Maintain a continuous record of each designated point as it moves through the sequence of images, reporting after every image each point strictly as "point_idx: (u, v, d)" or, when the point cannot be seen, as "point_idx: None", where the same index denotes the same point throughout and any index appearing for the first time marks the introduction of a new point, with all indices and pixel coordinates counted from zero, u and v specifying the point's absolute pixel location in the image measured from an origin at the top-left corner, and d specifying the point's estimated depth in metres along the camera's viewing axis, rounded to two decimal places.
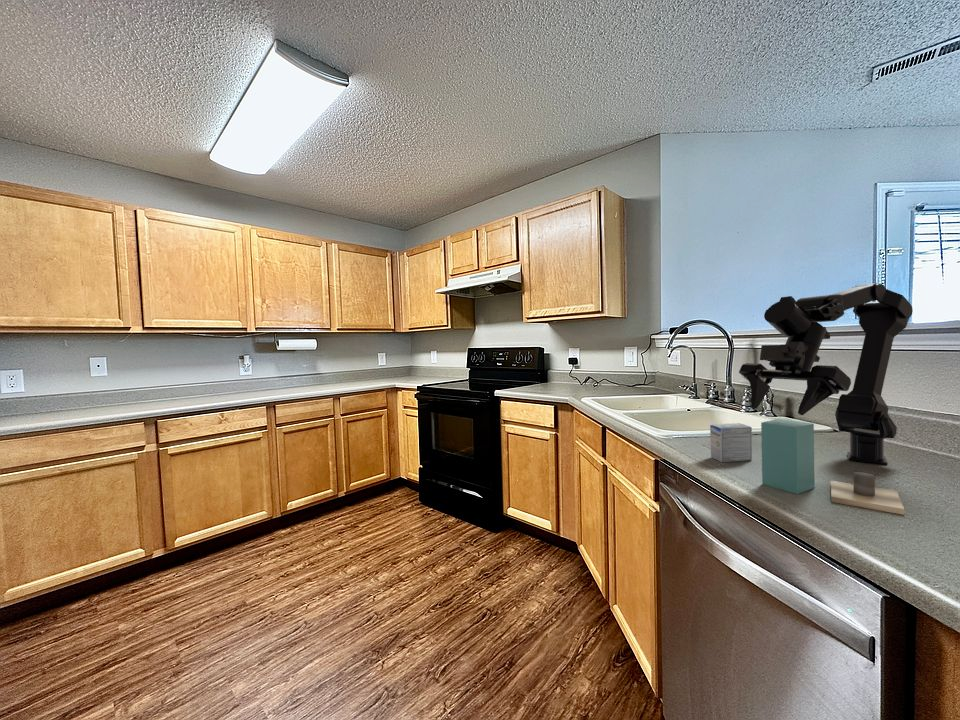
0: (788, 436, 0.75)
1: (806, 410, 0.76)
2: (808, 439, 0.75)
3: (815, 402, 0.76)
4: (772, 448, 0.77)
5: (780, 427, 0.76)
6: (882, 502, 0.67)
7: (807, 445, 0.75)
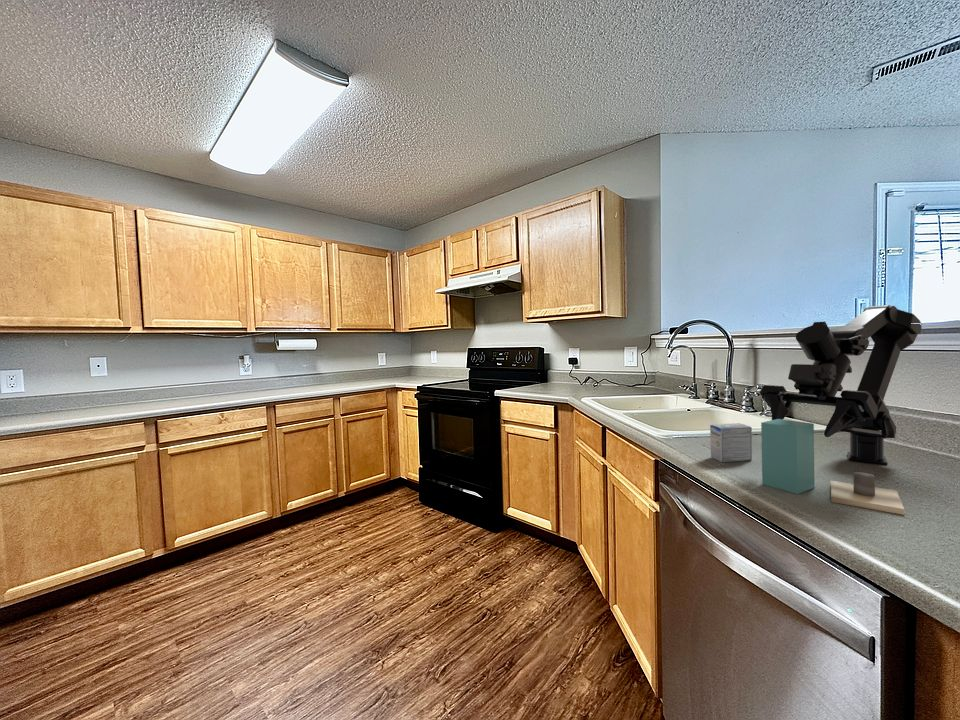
0: (788, 436, 0.75)
1: (832, 433, 0.75)
2: (808, 439, 0.75)
3: (841, 426, 0.75)
4: (772, 448, 0.77)
5: (780, 427, 0.76)
6: (882, 502, 0.67)
7: (807, 445, 0.75)
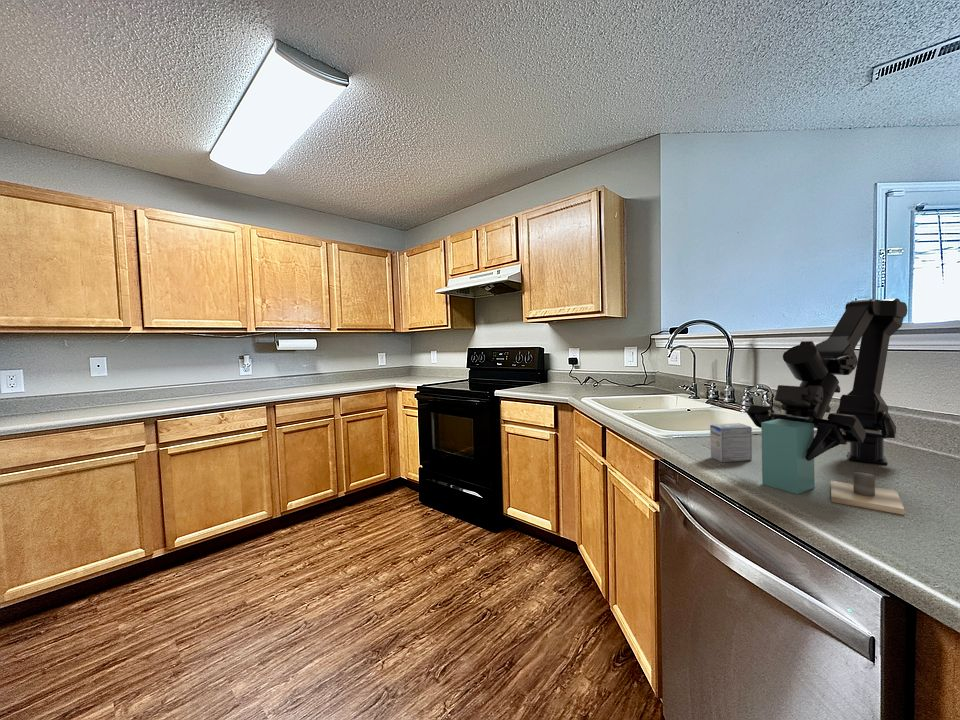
0: (788, 436, 0.75)
1: (813, 456, 0.74)
2: (808, 439, 0.75)
3: (823, 449, 0.74)
4: (772, 448, 0.77)
5: (780, 427, 0.76)
6: (882, 502, 0.67)
7: (807, 445, 0.75)
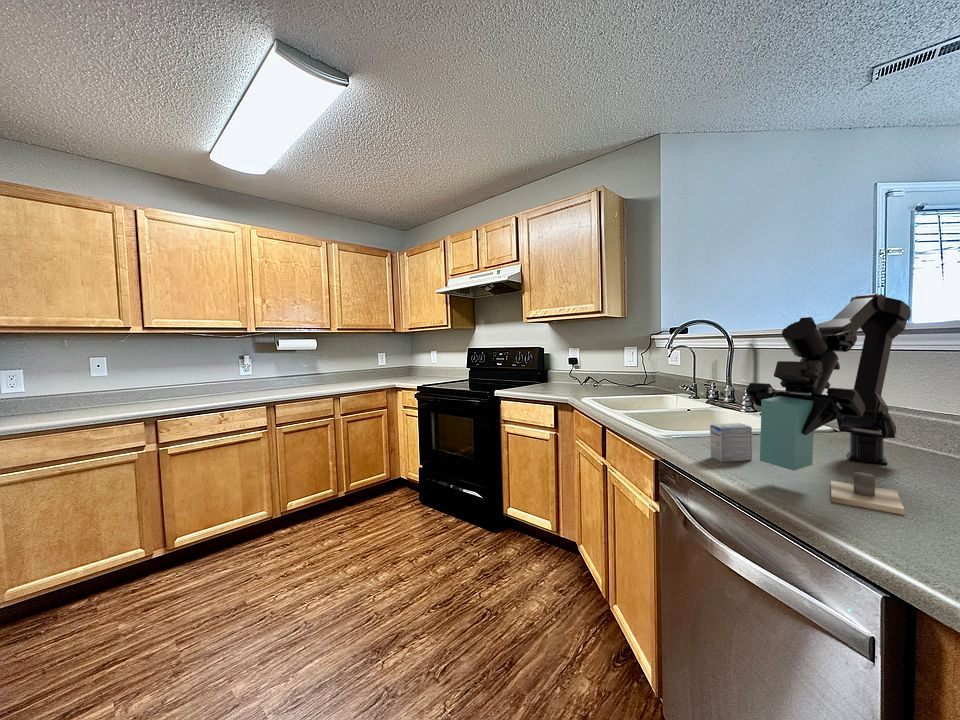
0: (788, 413, 0.74)
1: (810, 430, 0.74)
2: (808, 416, 0.75)
3: (819, 424, 0.74)
4: (771, 426, 0.77)
5: (780, 405, 0.75)
6: (882, 502, 0.67)
7: None
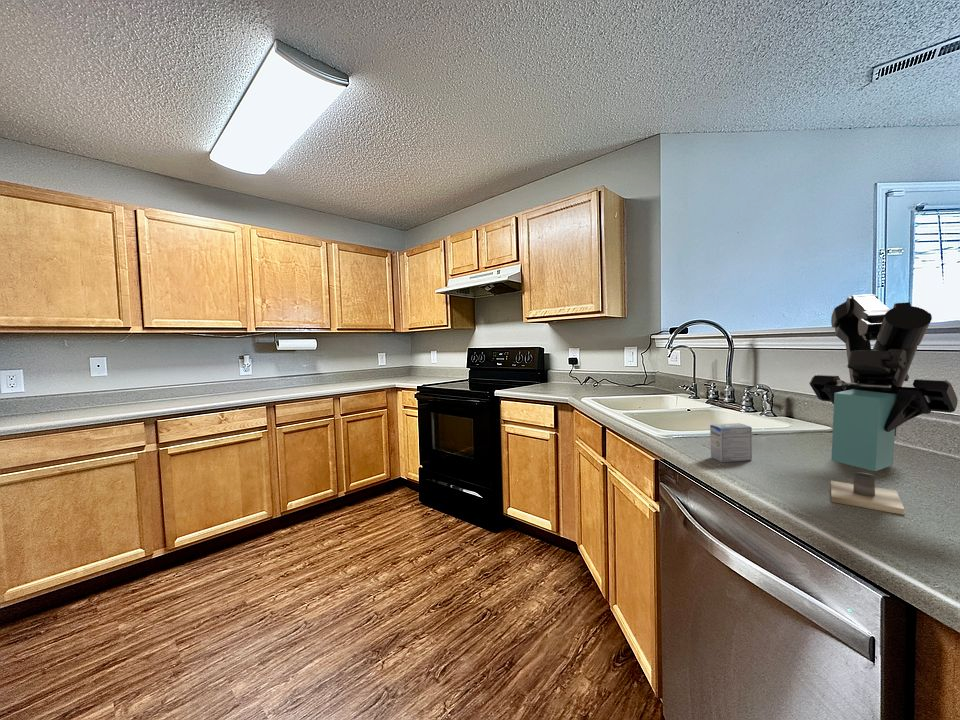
0: (868, 408, 0.67)
1: (893, 427, 0.67)
2: (890, 411, 0.67)
3: (903, 419, 0.67)
4: (846, 421, 0.70)
5: (858, 398, 0.68)
6: (882, 502, 0.67)
7: None
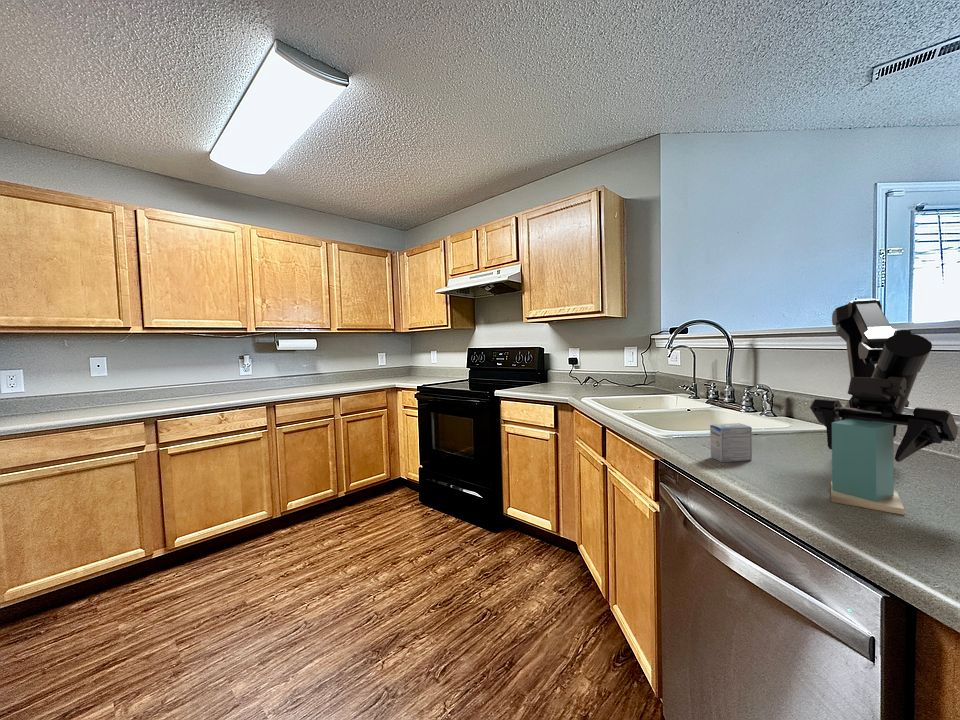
0: (865, 438, 0.68)
1: (904, 456, 0.66)
2: (888, 441, 0.68)
3: (914, 449, 0.66)
4: (844, 451, 0.70)
5: (855, 428, 0.69)
6: (882, 502, 0.67)
7: (886, 447, 0.68)
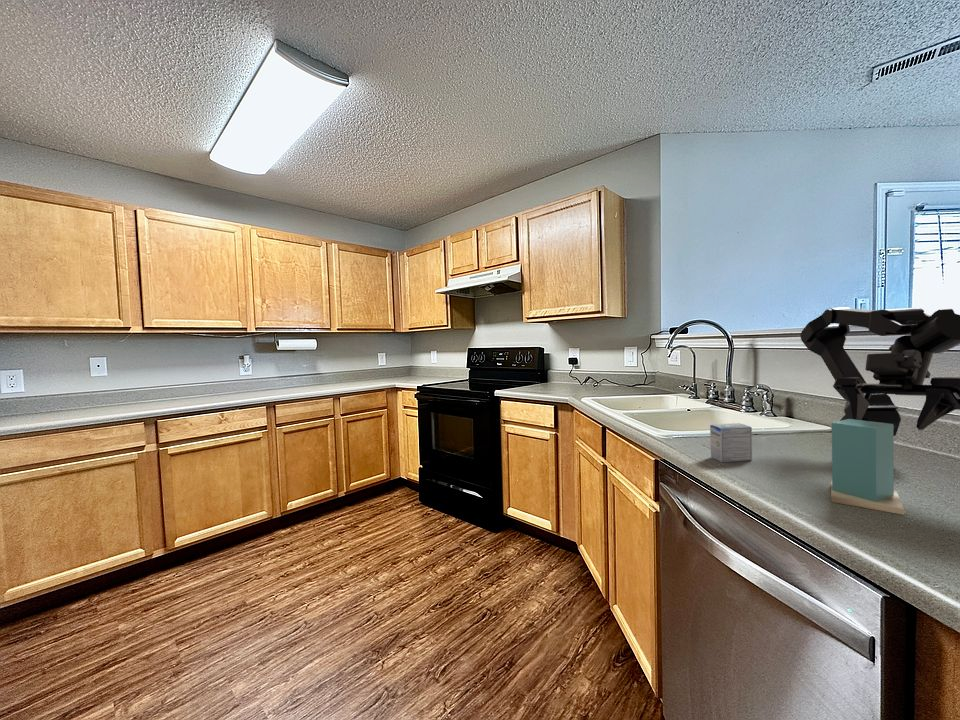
0: (865, 438, 0.68)
1: (926, 425, 0.69)
2: (888, 441, 0.68)
3: (935, 416, 0.69)
4: (844, 451, 0.70)
5: (855, 428, 0.69)
6: (882, 502, 0.67)
7: (886, 447, 0.68)
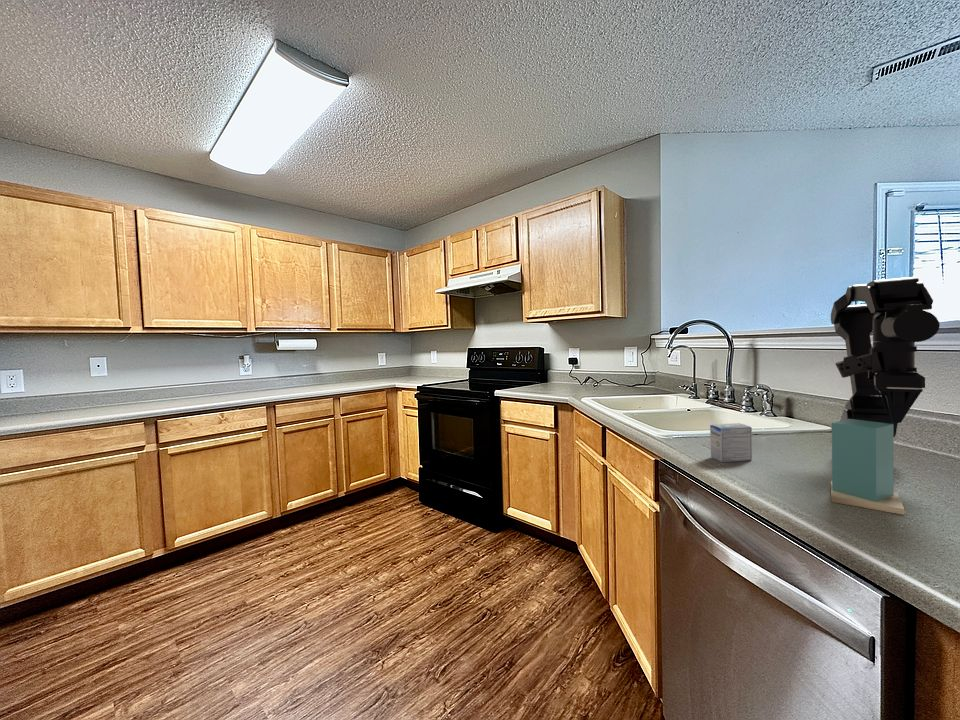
0: (865, 438, 0.68)
1: (900, 417, 0.73)
2: (888, 441, 0.68)
3: (904, 406, 0.72)
4: (844, 451, 0.70)
5: (855, 428, 0.69)
6: (882, 502, 0.67)
7: (886, 447, 0.68)
